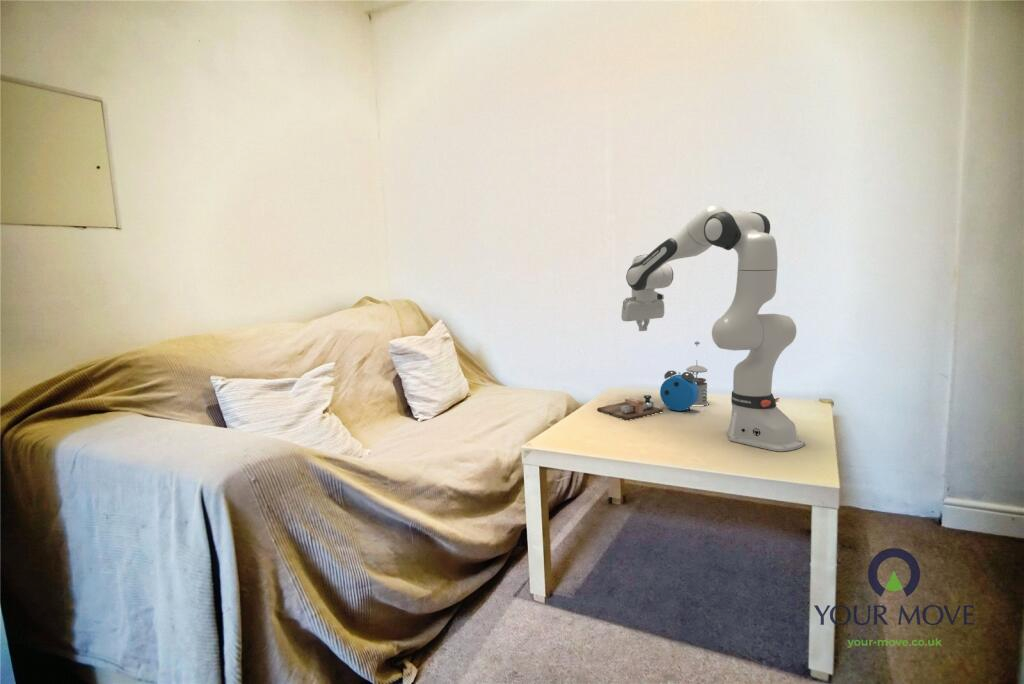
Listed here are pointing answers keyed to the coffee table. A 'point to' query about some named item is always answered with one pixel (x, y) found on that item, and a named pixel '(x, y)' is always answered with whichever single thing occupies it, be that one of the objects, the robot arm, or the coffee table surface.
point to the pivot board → (616, 411)
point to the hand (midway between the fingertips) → (643, 330)
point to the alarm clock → (679, 391)
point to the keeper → (636, 404)
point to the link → (631, 407)
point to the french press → (699, 383)
